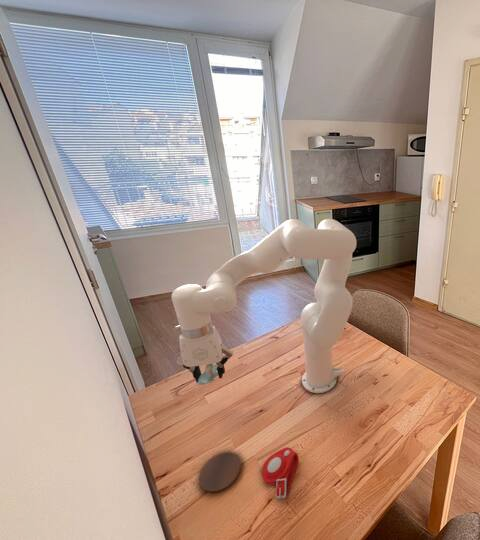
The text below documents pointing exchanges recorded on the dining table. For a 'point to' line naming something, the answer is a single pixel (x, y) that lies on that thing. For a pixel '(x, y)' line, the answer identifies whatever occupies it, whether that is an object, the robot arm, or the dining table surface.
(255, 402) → the dining table surface
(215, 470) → the dark brown coaster
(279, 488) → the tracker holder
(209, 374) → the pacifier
